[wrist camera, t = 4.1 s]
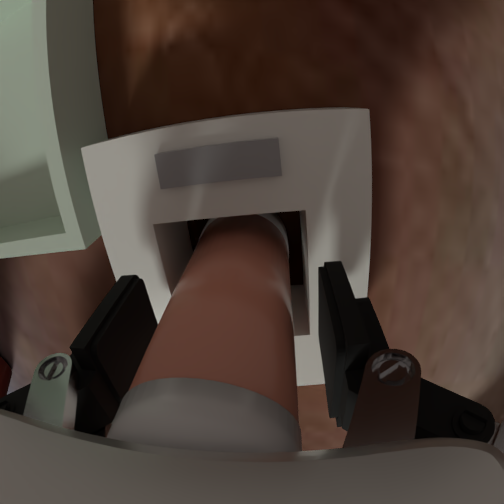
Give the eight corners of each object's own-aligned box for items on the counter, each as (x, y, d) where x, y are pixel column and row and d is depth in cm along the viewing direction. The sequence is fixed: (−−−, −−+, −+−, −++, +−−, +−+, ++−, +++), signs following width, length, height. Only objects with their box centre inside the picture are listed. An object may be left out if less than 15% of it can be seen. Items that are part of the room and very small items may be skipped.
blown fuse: (284, 196, 15) (305, 449, 4) (290, 274, 16) (301, 518, 6) (197, 204, 15) (62, 426, 4) (211, 279, 17) (143, 506, 6)
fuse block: (343, 107, 13) (371, 109, 9) (344, 329, 18) (357, 384, 14) (125, 134, 14) (76, 149, 10) (176, 337, 19) (157, 390, 15)
